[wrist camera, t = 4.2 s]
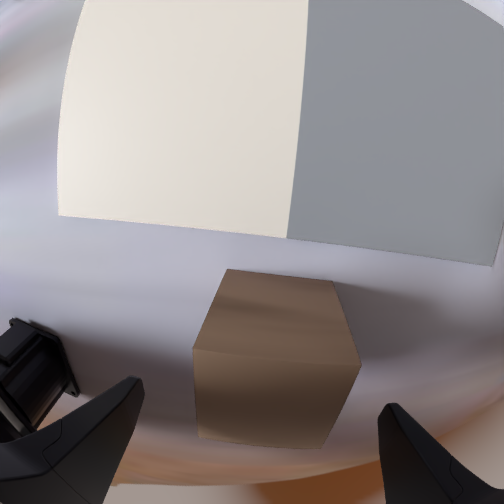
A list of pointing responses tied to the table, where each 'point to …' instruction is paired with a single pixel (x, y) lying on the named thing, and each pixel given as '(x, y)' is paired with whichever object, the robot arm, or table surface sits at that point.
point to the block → (273, 361)
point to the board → (290, 121)
